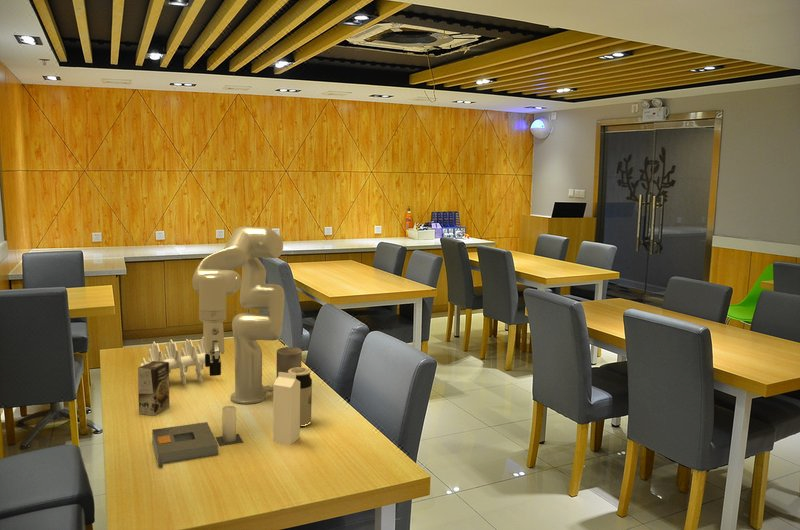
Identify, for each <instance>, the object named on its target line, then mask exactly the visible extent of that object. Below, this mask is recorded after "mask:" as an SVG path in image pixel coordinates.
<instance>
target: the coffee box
mask: <svg viewBox="0 0 800 530" xmlns="http://www.w3.org/2000/svg"><path fill="white" fill-rule="evenodd" d="M147 363H148V362H147ZM137 373H138V374H137V383H138V384H137V385H138V386H137V387H138V388H137V389H138V391H137V393H138V394H137V395H138V401H137V402H138V415H145V414H146V415H148V416H153V417H154V416H156V415H158V414H160V413H162V412H163V411H164V410H167V409H168V408H170V404H171V403H170V373H169V362H161V361H152V362H150V363H148V364H145V365H143V366H141V367H140V366H139V367H138V368H137Z"/></svg>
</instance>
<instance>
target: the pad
mask: <svg viewBox="0 0 800 530" xmlns="http://www.w3.org/2000/svg"><path fill="white" fill-rule="evenodd" d="M214 438H215V440H216V442H217V444H218V447H224V446H230V445H238V444H244V440H243V438H241V436H240V434H239V433H236V441H234V442H230V443H226V442H223V436H222V435H220V436H216V437H215V436H214Z"/></svg>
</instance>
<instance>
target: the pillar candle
mask: <svg viewBox="0 0 800 530" xmlns="http://www.w3.org/2000/svg"><path fill="white" fill-rule="evenodd" d="M302 352H303V351H302V349H301V348H299V347H295V346H294V347H293V346H289V347H288V346H286V347H281V348H278V349H277V350H276V376H275V377H276V379H277V378H278V372H284V373H288V370H289V369H292V368H296V367H302V362H303V361H302Z"/></svg>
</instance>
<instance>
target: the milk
mask: <svg viewBox="0 0 800 530" xmlns="http://www.w3.org/2000/svg"><path fill="white" fill-rule="evenodd" d="M272 393H273V395H272V396H273V397H272V398H273V400H272V401H273V402H272V403H273V405H272V407H273V409H272V412H273V413H272V414H273V415H272V416H273V419H272V423H273V424H272V426H273V427H272V435H273V437H272V442H273V443H279V444H284V445H285V444H286V445H290V446H291V445H292V444H293V443H295V442H296V441H297V440H298V439H300V437H301V436H300V434H301V433H300V431H301V430H300V428H301V427H300V381H299V380H297V379H296V374H292V373H284V372H278V378H277V377H276V380H275V381H274V383H273V392H272Z"/></svg>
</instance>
